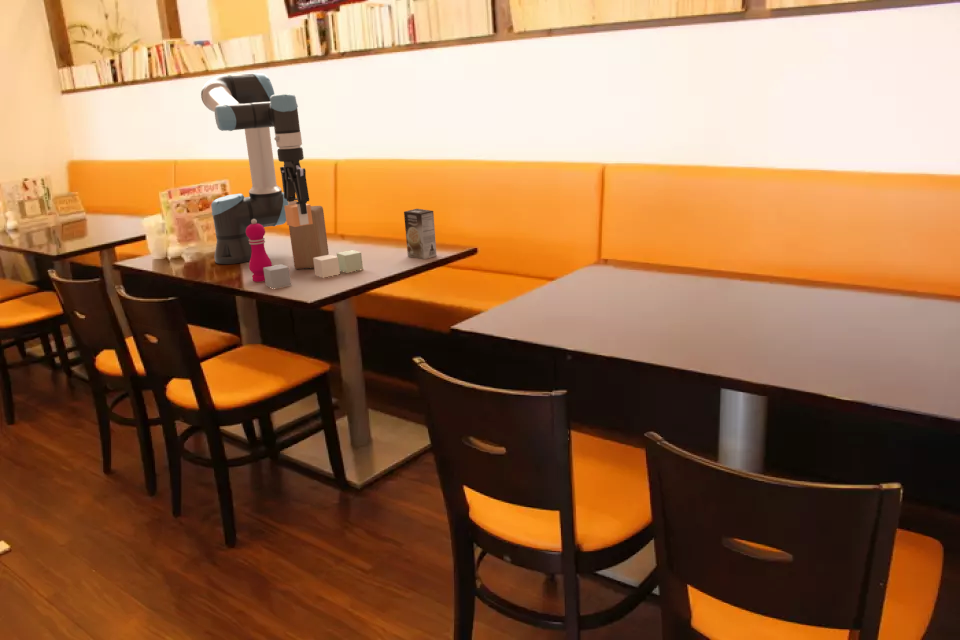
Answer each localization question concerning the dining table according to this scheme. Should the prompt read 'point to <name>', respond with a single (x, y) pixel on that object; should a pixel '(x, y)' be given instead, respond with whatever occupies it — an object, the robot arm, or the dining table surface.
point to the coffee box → (420, 233)
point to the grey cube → (277, 276)
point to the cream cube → (326, 266)
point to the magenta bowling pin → (257, 251)
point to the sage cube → (350, 261)
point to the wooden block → (309, 240)
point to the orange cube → (296, 215)
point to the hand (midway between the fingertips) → (299, 223)
